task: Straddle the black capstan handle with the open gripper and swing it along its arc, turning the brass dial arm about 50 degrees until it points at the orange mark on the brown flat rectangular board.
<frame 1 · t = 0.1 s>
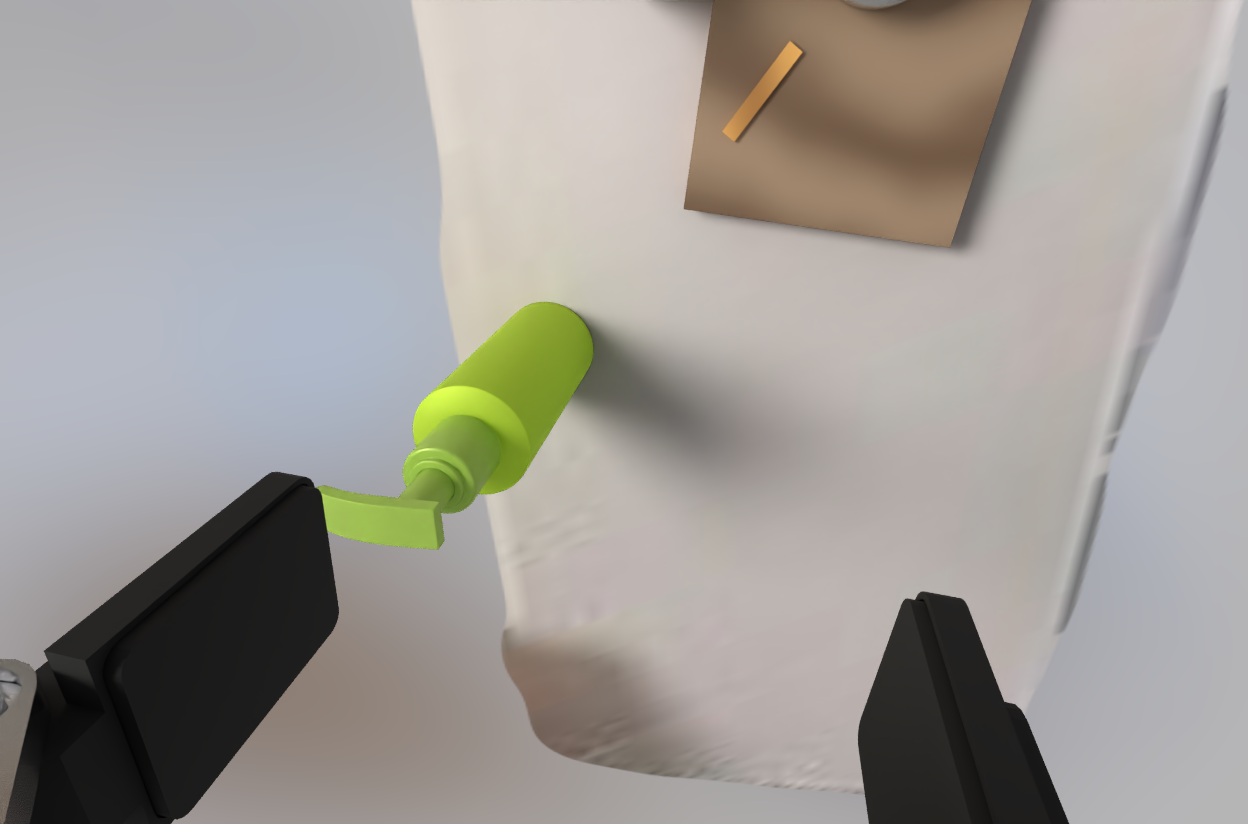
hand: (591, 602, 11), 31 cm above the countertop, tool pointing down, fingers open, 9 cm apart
soap dispenser: (542, 344, 44), on the countertop
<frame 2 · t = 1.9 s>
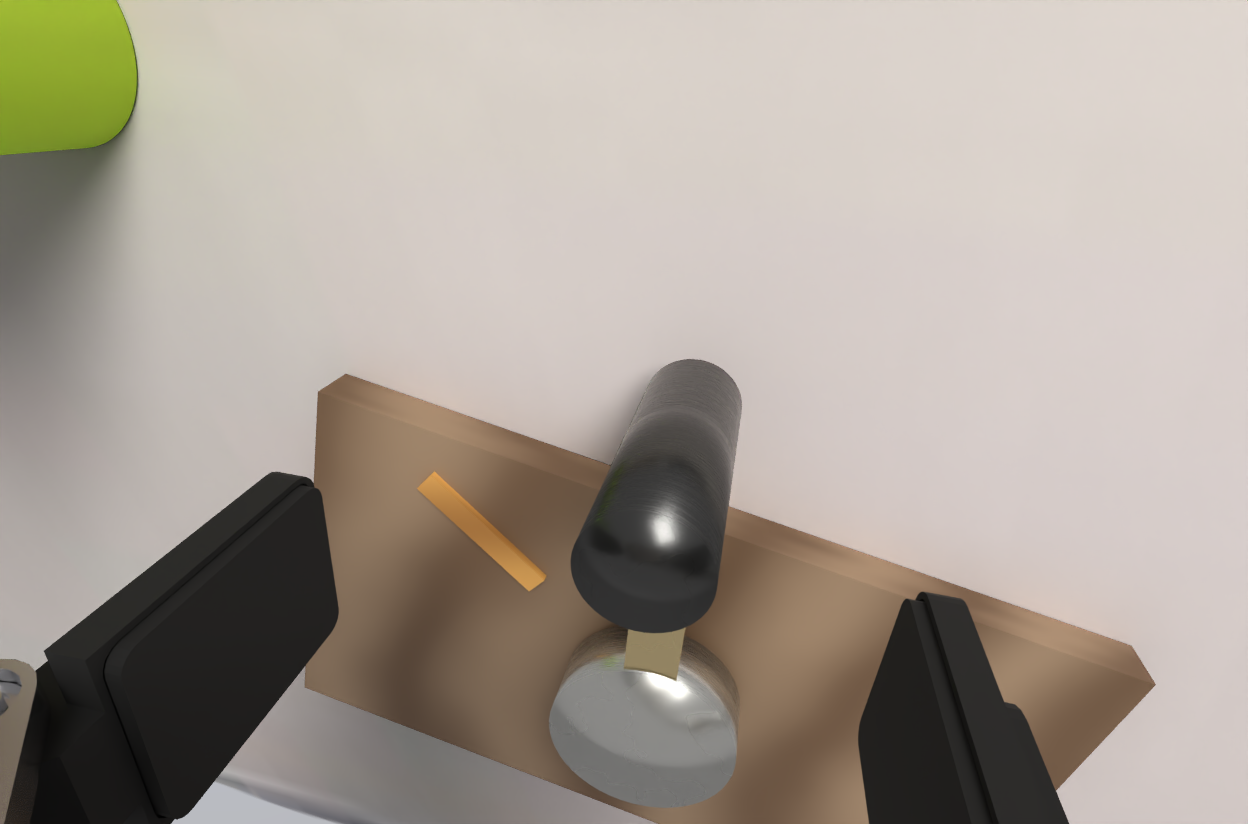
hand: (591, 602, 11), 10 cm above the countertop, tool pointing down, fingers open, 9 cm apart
soap dispenser: (50, 19, 19), on the countertop
brown flat rectangular board: (659, 654, 25), on the countertop
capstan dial: (644, 676, 18), point 5 cm above the countertop, hinge at -80.0°
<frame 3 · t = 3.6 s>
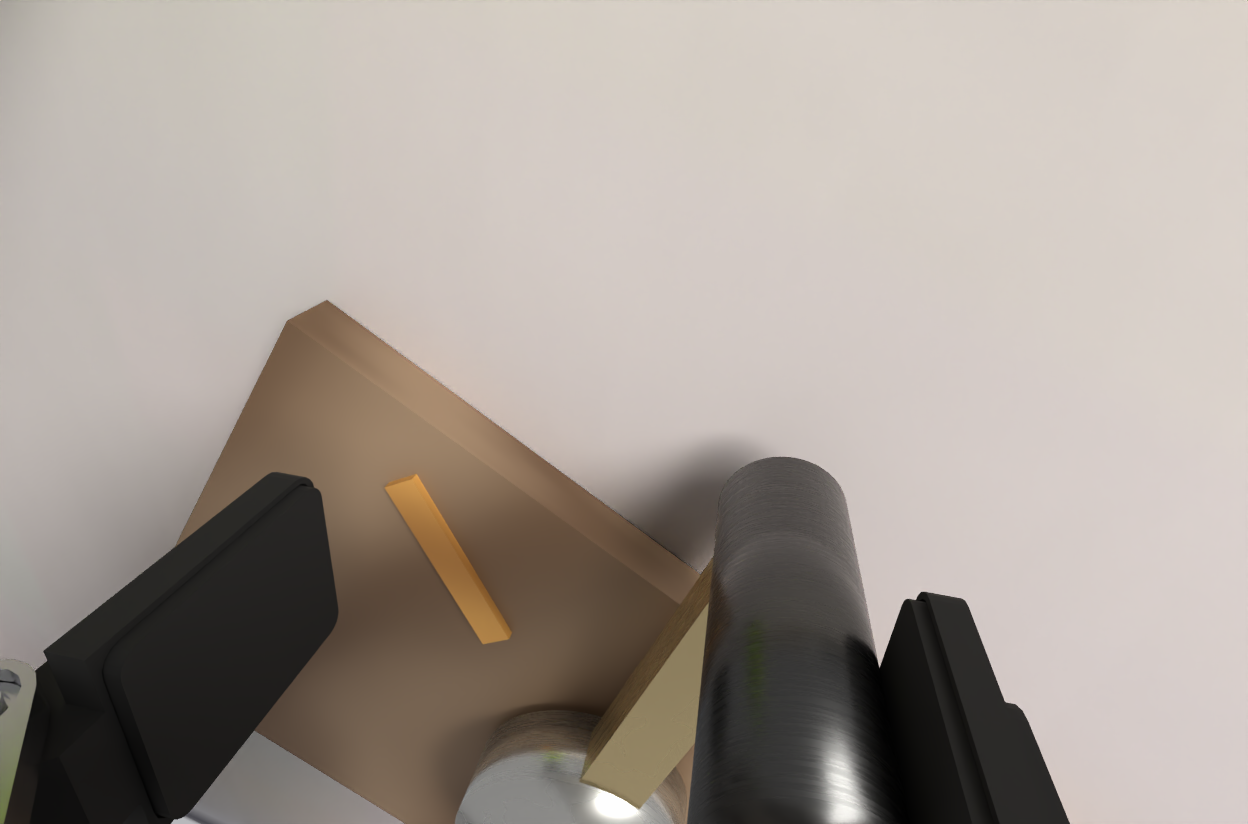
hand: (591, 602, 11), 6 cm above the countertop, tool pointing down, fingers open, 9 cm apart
brown flat rectangular board: (595, 730, 21), on the countertop
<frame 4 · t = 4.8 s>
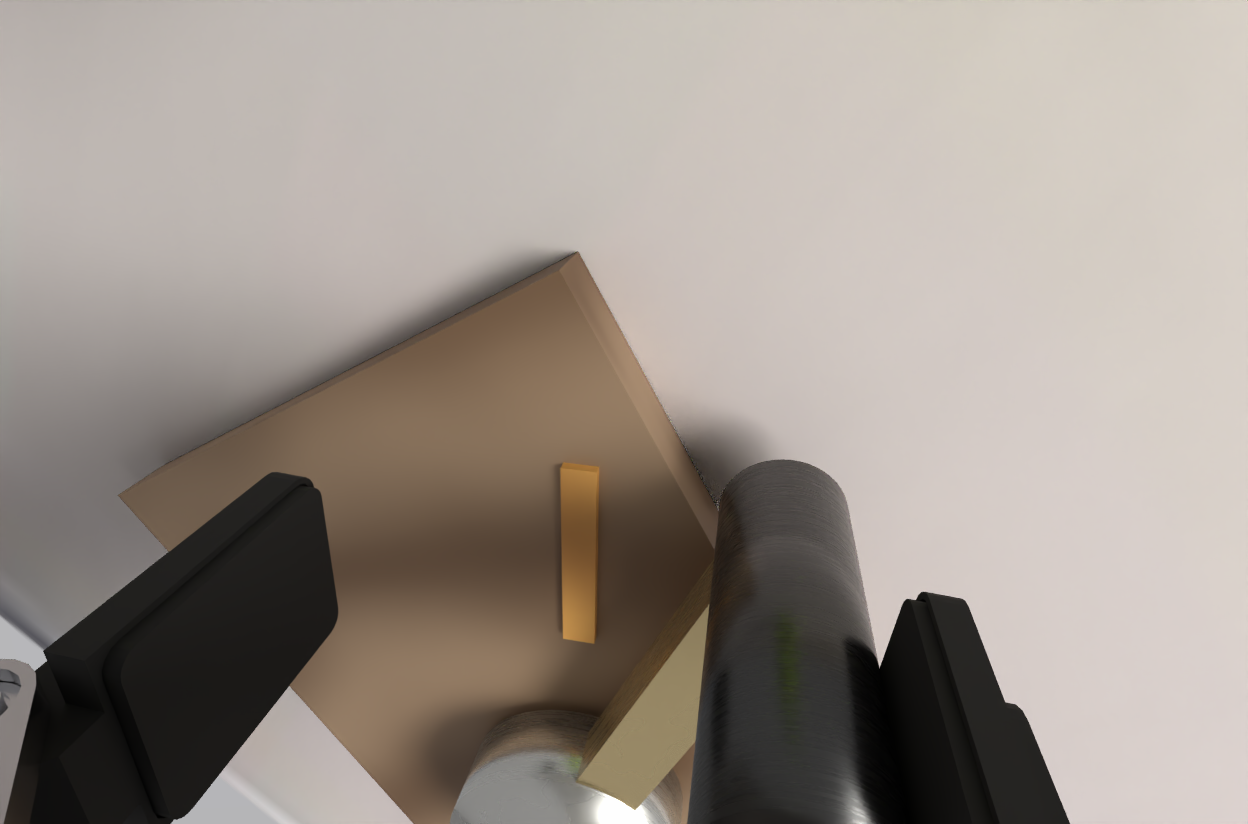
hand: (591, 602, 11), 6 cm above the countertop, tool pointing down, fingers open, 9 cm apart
brown flat rectangular board: (592, 729, 21), on the countertop
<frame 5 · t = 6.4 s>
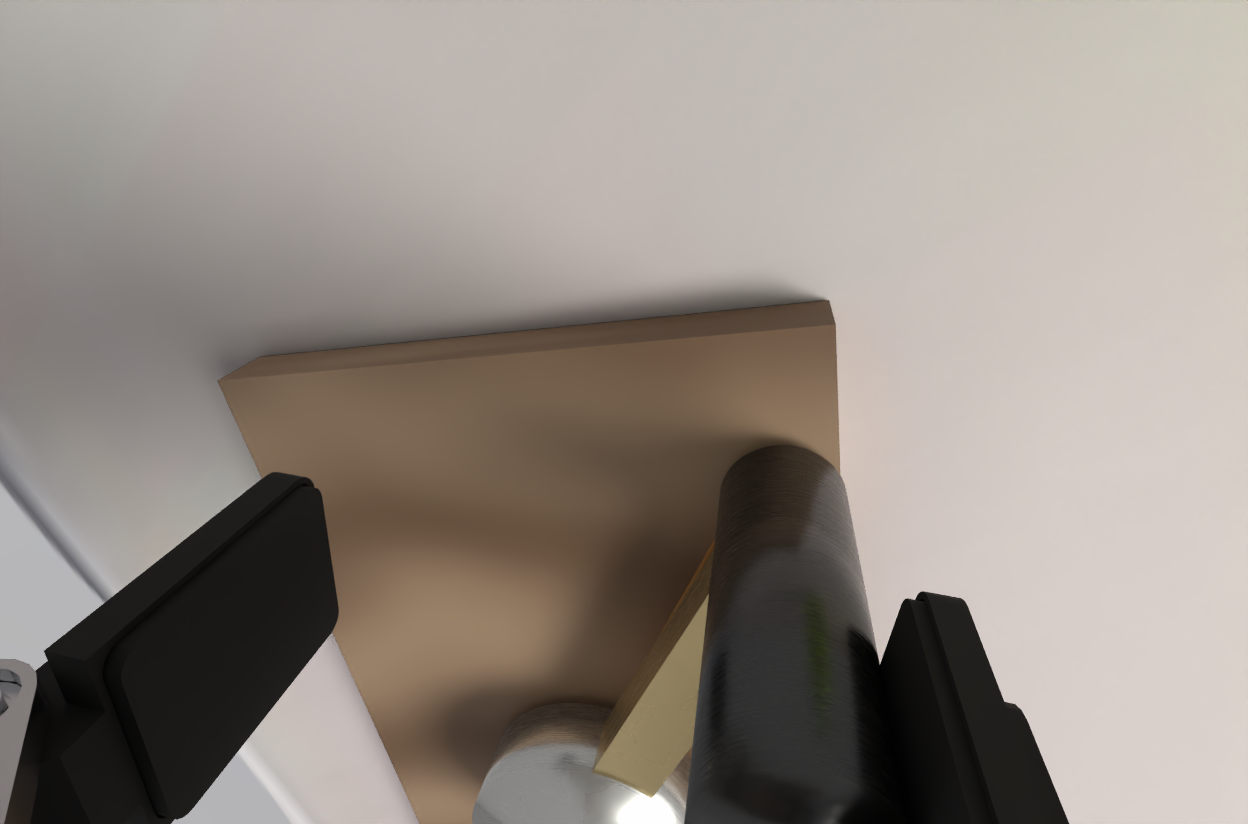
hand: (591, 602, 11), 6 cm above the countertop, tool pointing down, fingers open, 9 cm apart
brown flat rectangular board: (609, 723, 21), on the countertop
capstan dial: (637, 817, 14), point 5 cm above the countertop, hinge at -31.8°
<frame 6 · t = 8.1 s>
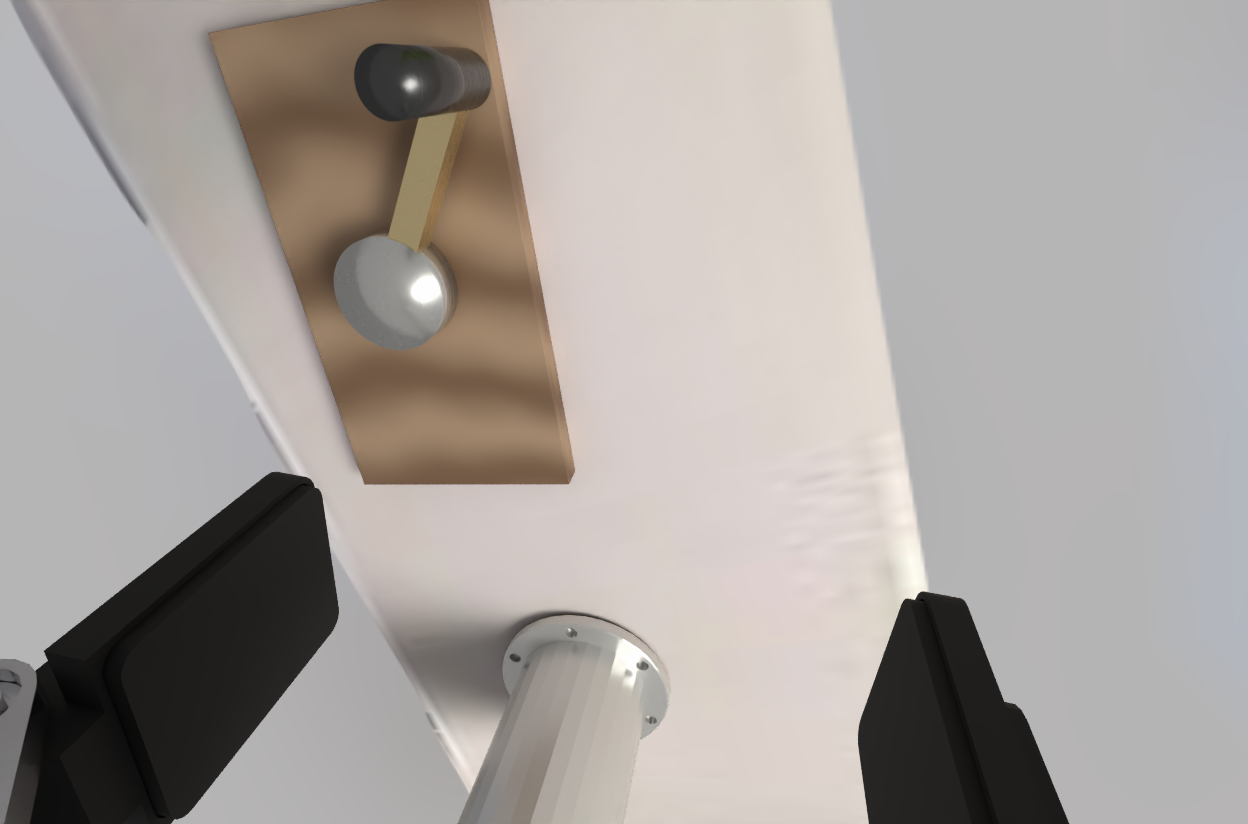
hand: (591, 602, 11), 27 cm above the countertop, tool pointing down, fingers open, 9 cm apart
brown flat rectangular board: (420, 275, 38), on the countertop
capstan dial: (393, 220, 31), point 5 cm above the countertop, hinge at -31.7°
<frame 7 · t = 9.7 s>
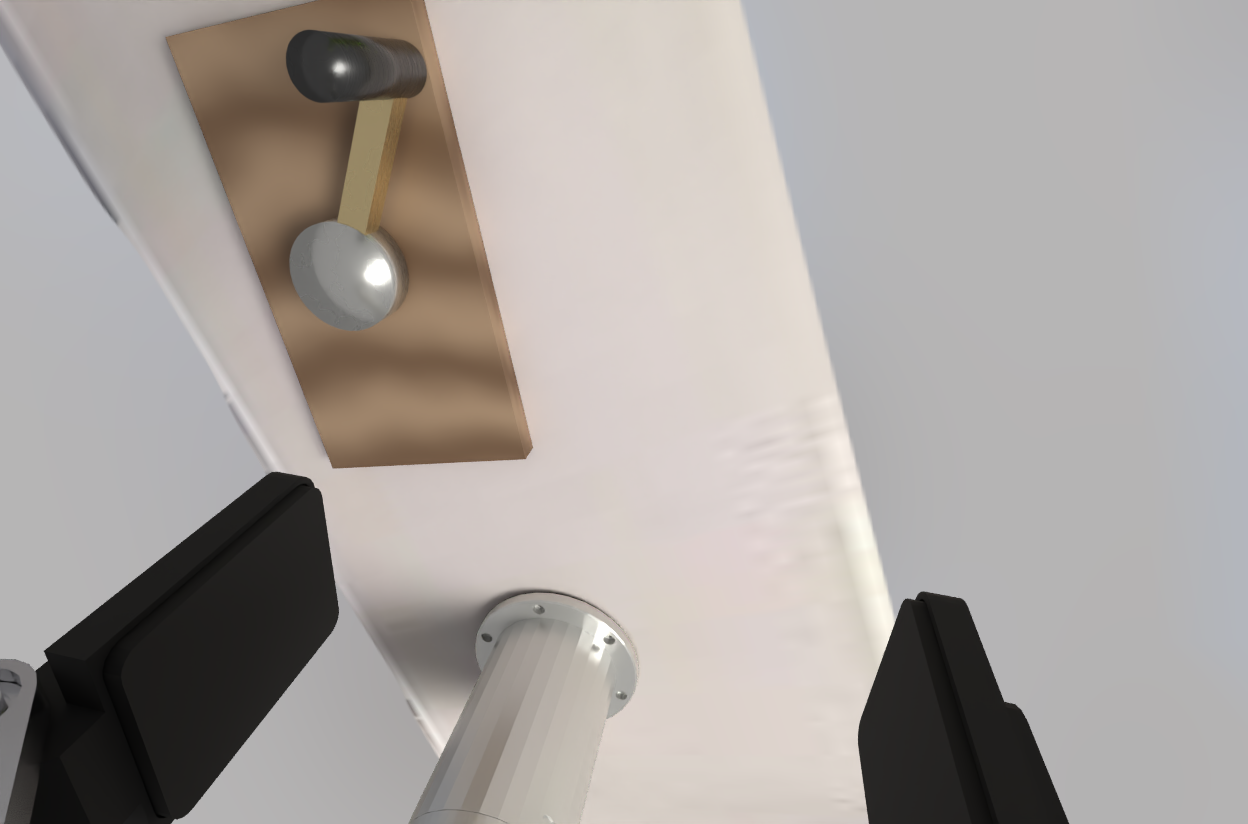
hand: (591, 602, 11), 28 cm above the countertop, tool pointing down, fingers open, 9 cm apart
brown flat rectangular board: (375, 261, 40), on the countertop
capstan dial: (338, 202, 33), point 5 cm above the countertop, hinge at -31.7°
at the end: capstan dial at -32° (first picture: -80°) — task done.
